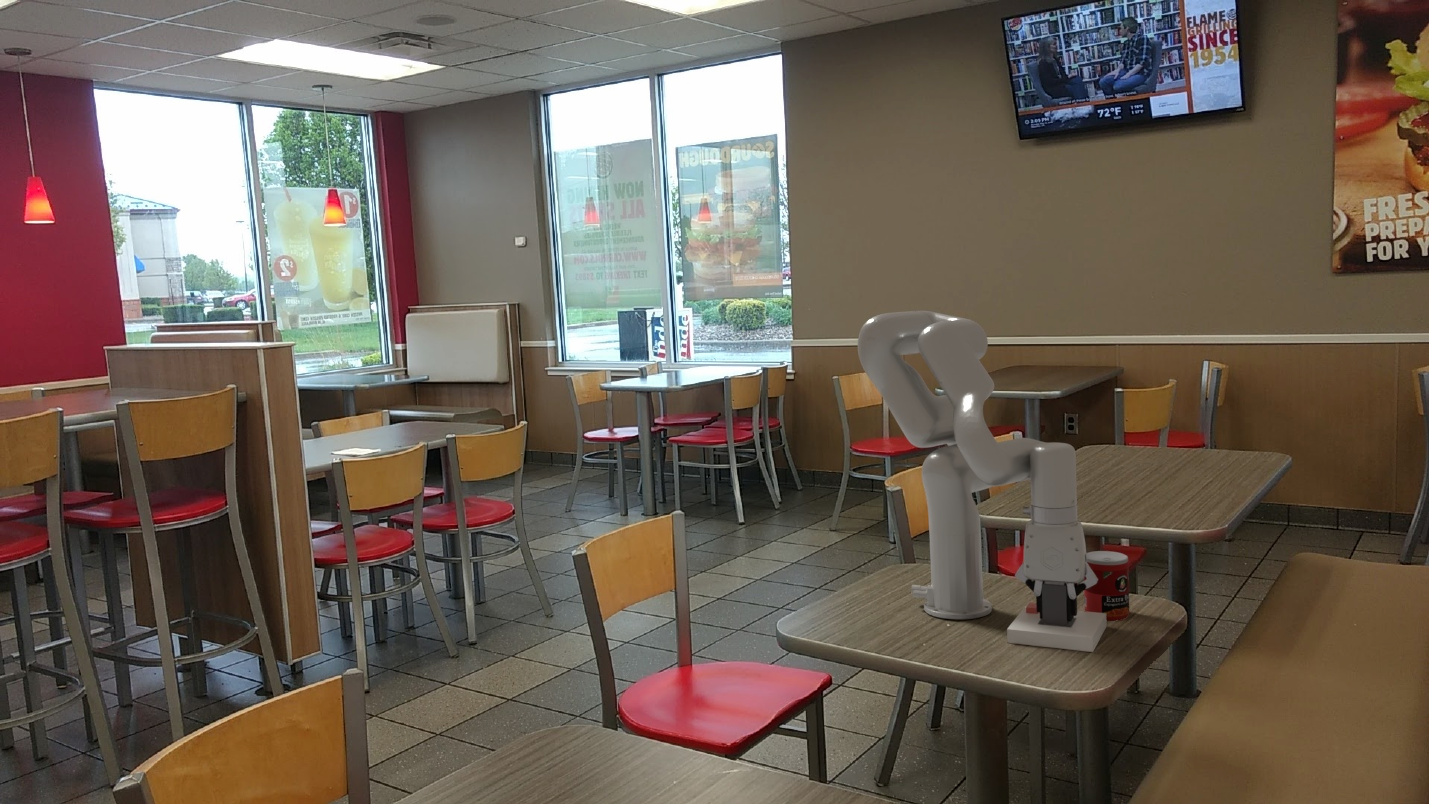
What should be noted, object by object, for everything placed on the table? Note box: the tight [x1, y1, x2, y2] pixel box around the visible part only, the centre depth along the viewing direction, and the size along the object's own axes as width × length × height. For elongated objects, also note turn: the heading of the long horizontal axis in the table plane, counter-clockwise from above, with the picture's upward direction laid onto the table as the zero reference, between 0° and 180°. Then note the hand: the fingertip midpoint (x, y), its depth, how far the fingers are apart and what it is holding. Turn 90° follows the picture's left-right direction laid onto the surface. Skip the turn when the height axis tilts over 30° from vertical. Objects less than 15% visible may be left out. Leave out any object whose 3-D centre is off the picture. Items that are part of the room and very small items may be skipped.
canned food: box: [1083, 550, 1130, 622], centre depth 189 cm, size 8×8×11 cm
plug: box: [1042, 581, 1069, 626], centre depth 180 cm, size 4×4×8 cm
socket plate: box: [1006, 602, 1107, 653], centre depth 181 cm, size 14×14×3 cm
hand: (1056, 616), depth 181 cm, fingers closed on plug, 3 cm apart
